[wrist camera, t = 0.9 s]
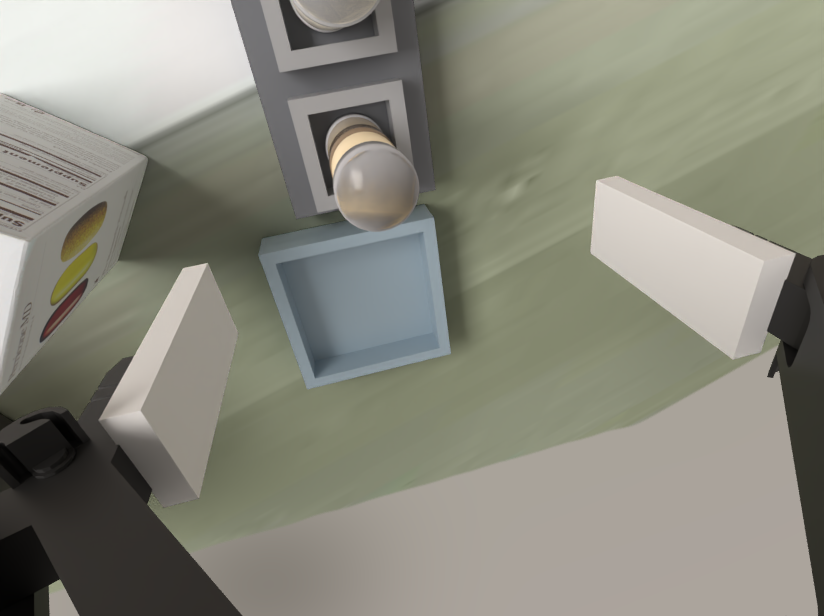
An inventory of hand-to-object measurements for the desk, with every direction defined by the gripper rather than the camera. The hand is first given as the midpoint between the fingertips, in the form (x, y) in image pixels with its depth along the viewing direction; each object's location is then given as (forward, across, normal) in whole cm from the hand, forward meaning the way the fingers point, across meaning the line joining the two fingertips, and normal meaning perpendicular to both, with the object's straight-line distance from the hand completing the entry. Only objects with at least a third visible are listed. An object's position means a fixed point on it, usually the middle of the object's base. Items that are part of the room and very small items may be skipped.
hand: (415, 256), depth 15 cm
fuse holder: (+23, 0, +4) cm, 23 cm away
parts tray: (+23, -2, -14) cm, 27 cm away
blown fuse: (+20, 0, 0) cm, 20 cm away
